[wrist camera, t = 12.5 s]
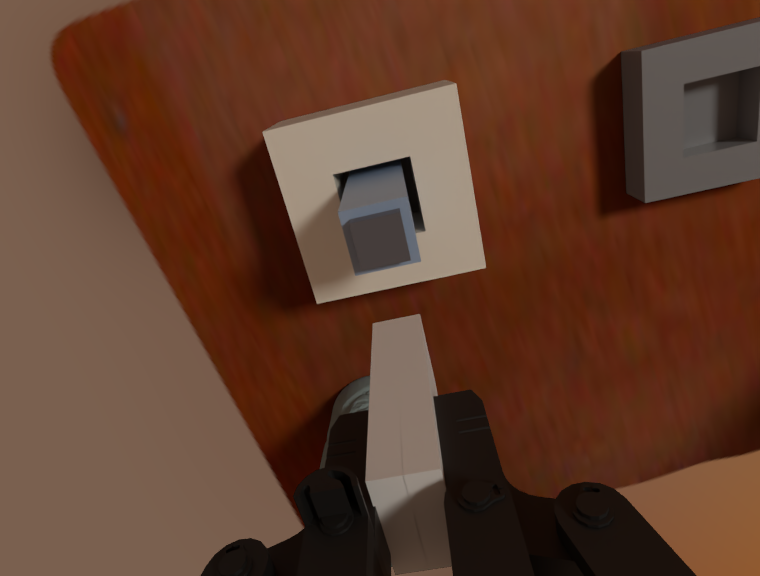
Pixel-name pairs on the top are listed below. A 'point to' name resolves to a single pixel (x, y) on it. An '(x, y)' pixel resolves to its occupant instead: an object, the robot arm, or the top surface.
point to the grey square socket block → (692, 112)
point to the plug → (378, 219)
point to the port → (369, 147)
